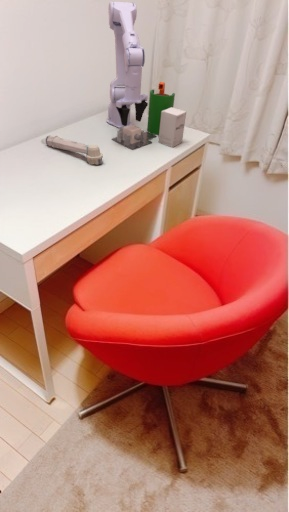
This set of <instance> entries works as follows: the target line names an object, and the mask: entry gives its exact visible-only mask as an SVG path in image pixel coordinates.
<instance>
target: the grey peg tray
mask: <svg viewBox="0 0 289 512" xmlns="http://www.w3.org/2000/svg"><path fill="white" fill-rule="evenodd" d="M123 127H124V126H122V127H120V128H119V130H117V134H116V137H113V138H111V141H113V142H115V143H117V144H118V145H121V146H123V147H125V148H127V149H129V150H132V151H134V150H137V149H139V148H142V147H145V146H148V145H151V144H152V143H153V141H151V140H153V139H156V138H157V137H158V135H156V134H152V133H150V132H148V131H145V130H144V129H141V139H140V141H139V142H136V143H133V144H130V135H128V134H125V135H124V140H123Z"/></svg>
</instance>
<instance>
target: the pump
mask: <svg viewBox="0 0 289 512" xmlns="http://www.w3.org/2000/svg"><path fill="white" fill-rule="evenodd" d="M141 130H142V128H140V127H138V126H136V125H135V124H134V125H130V126H127V127H123V140H124V135H125V134H128V135H130V144H133V143H136V142H139V141H140V139H141Z"/></svg>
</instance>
